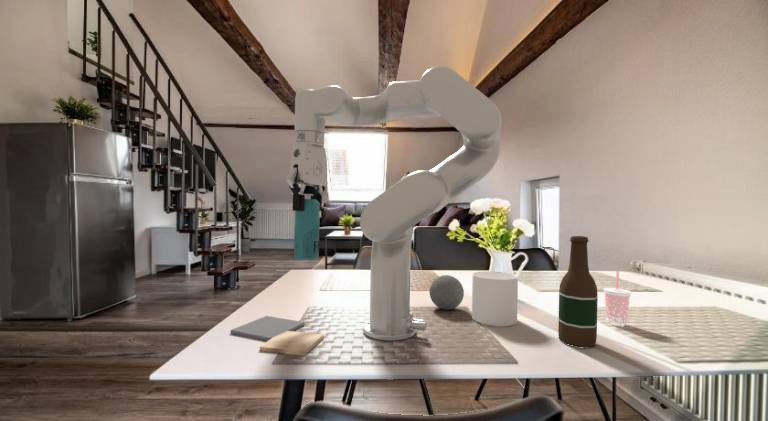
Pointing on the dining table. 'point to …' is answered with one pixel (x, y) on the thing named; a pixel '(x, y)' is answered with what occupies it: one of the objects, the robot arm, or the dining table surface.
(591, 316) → the beer bottle
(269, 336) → the slate coaster
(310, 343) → the light wooden coaster
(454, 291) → the decorative ball
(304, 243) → the beverage bottle
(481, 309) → the cup
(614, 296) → the beverage cup
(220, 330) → the dining table surface
